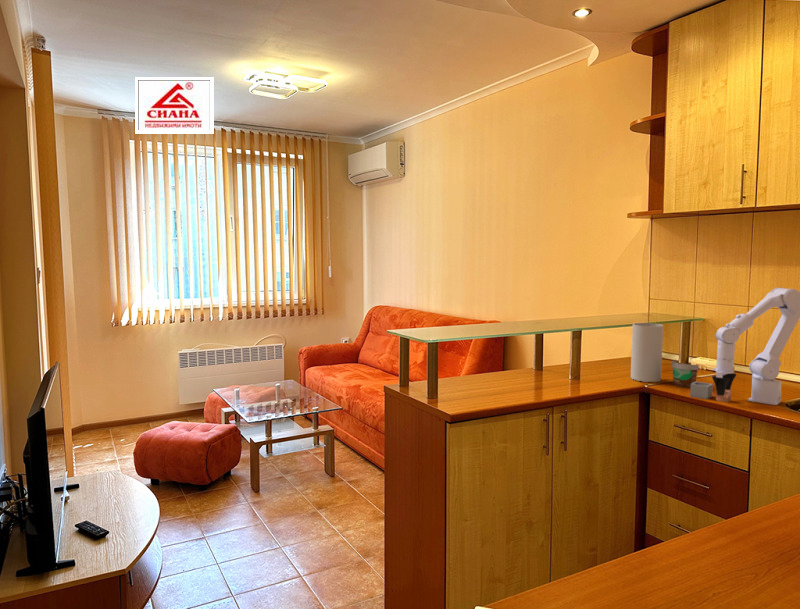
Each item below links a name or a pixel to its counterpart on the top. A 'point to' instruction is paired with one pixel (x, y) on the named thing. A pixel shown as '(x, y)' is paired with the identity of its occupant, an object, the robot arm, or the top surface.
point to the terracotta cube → (724, 396)
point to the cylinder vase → (646, 352)
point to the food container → (684, 374)
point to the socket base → (701, 390)
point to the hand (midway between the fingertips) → (723, 393)
